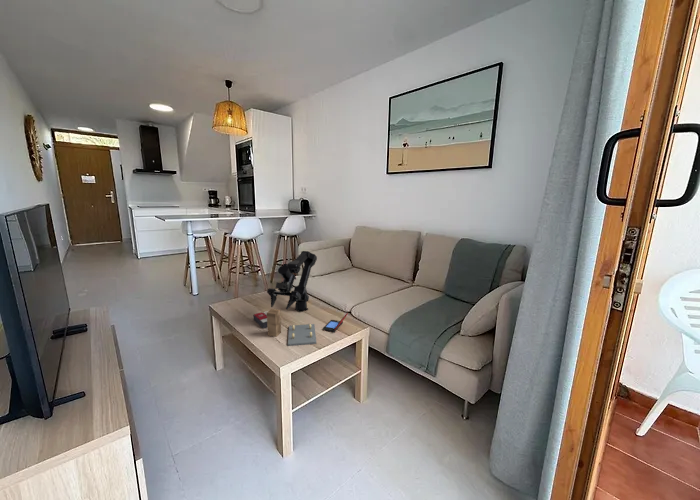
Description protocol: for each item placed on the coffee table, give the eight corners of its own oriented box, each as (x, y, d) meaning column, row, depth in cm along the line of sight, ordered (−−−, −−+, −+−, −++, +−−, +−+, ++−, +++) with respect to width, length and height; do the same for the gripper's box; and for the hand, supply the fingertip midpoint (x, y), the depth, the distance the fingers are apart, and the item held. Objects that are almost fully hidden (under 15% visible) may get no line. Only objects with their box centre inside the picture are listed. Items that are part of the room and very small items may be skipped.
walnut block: (272, 331, 158) (271, 308, 155) (281, 332, 156) (280, 309, 154) (267, 335, 153) (266, 312, 150) (276, 336, 152) (275, 313, 149)
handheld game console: (331, 321, 171) (331, 309, 169) (348, 324, 167) (348, 312, 166) (321, 330, 159) (321, 318, 158) (340, 334, 156) (340, 321, 154)
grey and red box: (270, 309, 178) (280, 316, 166) (271, 316, 179) (281, 323, 167) (252, 313, 172) (262, 321, 160) (253, 320, 172) (262, 329, 160)
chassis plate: (289, 327, 162) (289, 321, 161) (314, 325, 165) (314, 319, 164) (287, 346, 143) (287, 339, 142) (316, 343, 145) (316, 337, 145)
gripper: (267, 274, 162) (257, 300, 154) (298, 277, 157) (289, 304, 149) (275, 283, 171) (266, 308, 163) (304, 286, 166) (296, 312, 158)
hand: (279, 308), depth 158 cm, fingers open, 9 cm apart
